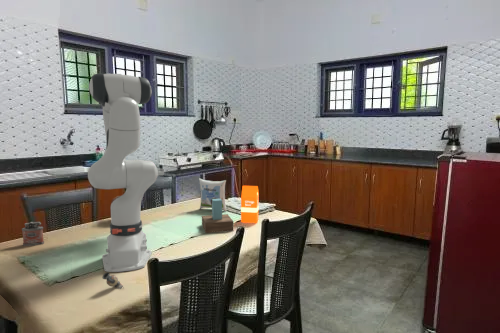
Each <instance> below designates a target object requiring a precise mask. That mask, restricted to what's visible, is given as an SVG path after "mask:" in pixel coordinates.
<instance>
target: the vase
mask: <svg viewBox="0 0 500 333" xmlns="http://www.w3.org/2000/svg"><path fill="white" fill-rule="evenodd" d="M102 279H103V280H106V281H105V282H106V285H107V286H109V287H114V288H115V289H118V290H121V289H124V285H122V282H121V281H120V280H119V278H118V276H117V275H115V274H111V275H110V272H105V273H103V275H102Z"/></svg>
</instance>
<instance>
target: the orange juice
mask: <svg viewBox="0 0 500 333" xmlns="http://www.w3.org/2000/svg"><path fill="white" fill-rule="evenodd" d="M259 195H260V193H259V186H258V185H242V189H241V196H240V223H244V224H247V223H248V224H257V223H258V221H259V201H260V200H259V197H260V196H259Z"/></svg>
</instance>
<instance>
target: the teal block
mask: <svg viewBox="0 0 500 333" xmlns="http://www.w3.org/2000/svg"><path fill="white" fill-rule="evenodd" d="M211 215H212V218H213V220H220V219H222V215H223V210H222V200H221V199H212V208H211Z"/></svg>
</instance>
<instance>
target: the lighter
mask: <svg viewBox="0 0 500 333" xmlns="http://www.w3.org/2000/svg"><path fill="white" fill-rule="evenodd" d="M41 225H42V222H41V221H30V222H26V223H24V226H25V227H23V228H21V231H22V241H23V242H22V246H23V247H25V246H26V247H29V246H31V247H32V246H41V245H43V244H45V241H44V231H43V230H44V227H43V226H41Z"/></svg>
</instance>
